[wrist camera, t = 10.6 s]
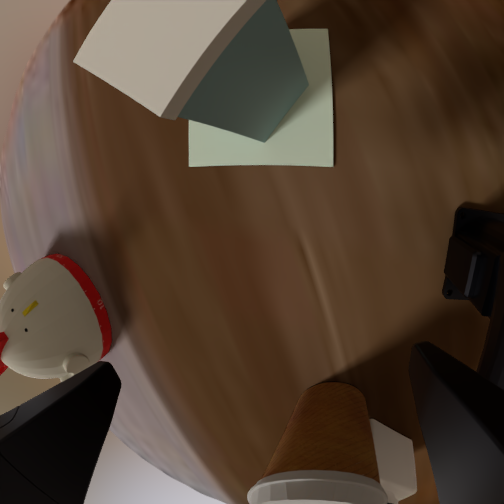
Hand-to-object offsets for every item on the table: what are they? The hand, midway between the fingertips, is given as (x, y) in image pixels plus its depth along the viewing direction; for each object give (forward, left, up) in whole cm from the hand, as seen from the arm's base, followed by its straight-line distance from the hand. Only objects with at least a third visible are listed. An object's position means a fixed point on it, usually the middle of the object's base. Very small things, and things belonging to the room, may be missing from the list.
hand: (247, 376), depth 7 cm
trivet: (+3, -10, -13) cm, 17 cm away
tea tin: (+3, -10, -13) cm, 17 cm away
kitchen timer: (+26, +10, -14) cm, 31 cm away
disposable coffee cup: (-4, +15, -14) cm, 20 cm away
